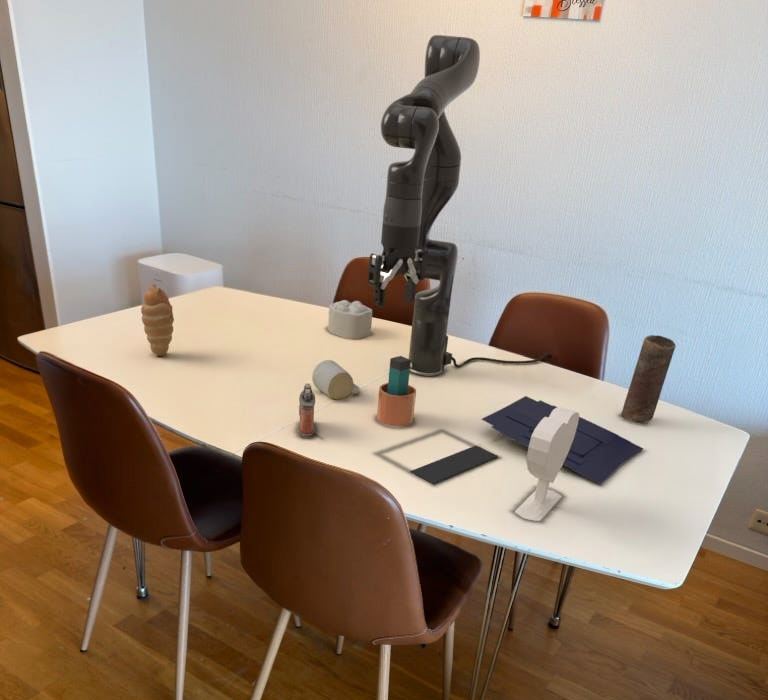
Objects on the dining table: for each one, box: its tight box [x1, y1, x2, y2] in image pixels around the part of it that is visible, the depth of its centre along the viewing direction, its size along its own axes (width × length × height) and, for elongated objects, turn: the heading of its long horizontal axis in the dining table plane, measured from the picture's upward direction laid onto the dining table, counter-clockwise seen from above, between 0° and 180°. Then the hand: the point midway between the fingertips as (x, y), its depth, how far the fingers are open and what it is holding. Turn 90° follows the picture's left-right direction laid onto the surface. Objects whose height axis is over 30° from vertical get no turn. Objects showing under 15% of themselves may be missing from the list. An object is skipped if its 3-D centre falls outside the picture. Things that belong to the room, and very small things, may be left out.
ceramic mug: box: [311, 359, 360, 401], centre depth 171 cm, size 11×8×8 cm
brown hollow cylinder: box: [620, 334, 677, 424], centre depth 169 cm, size 8×7×20 cm
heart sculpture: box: [514, 406, 580, 522], centre depth 130 cm, size 16×5×18 cm, turn 148°
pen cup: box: [376, 382, 417, 427], centre depth 160 cm, size 8×8×8 cm
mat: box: [409, 445, 499, 485], centre depth 148 cm, size 20×16×1 cm
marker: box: [387, 355, 411, 396], centre depth 158 cm, size 3×3×14 cm
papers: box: [481, 395, 644, 485], centre depth 158 cm, size 24×30×4 cm
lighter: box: [298, 382, 316, 439], centre depth 151 cm, size 8×3×10 cm, turn 5°
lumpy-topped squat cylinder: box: [327, 299, 373, 340], centre depth 214 cm, size 10×13×9 cm
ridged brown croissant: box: [140, 282, 175, 357], centre depth 181 cm, size 9×8×18 cm
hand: (394, 303), depth 149 cm, fingers open, 8 cm apart
